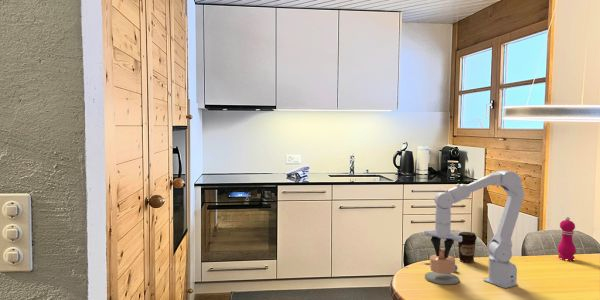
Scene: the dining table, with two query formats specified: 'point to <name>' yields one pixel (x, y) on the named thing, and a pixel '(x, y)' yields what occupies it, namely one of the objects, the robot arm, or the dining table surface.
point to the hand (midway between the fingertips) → (442, 256)
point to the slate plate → (442, 278)
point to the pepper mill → (567, 240)
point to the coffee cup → (467, 246)
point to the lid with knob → (442, 263)
